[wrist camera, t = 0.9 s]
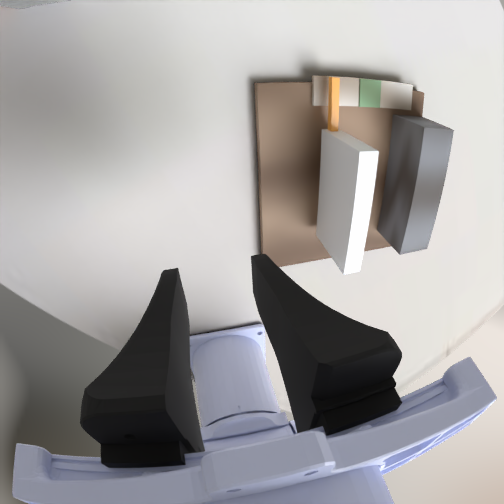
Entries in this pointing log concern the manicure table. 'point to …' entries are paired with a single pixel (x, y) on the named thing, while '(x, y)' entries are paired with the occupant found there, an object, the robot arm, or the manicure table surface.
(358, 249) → the paddle
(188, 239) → the manicure table surface
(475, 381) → the robot arm
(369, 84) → the gauge frame
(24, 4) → the skincare box
